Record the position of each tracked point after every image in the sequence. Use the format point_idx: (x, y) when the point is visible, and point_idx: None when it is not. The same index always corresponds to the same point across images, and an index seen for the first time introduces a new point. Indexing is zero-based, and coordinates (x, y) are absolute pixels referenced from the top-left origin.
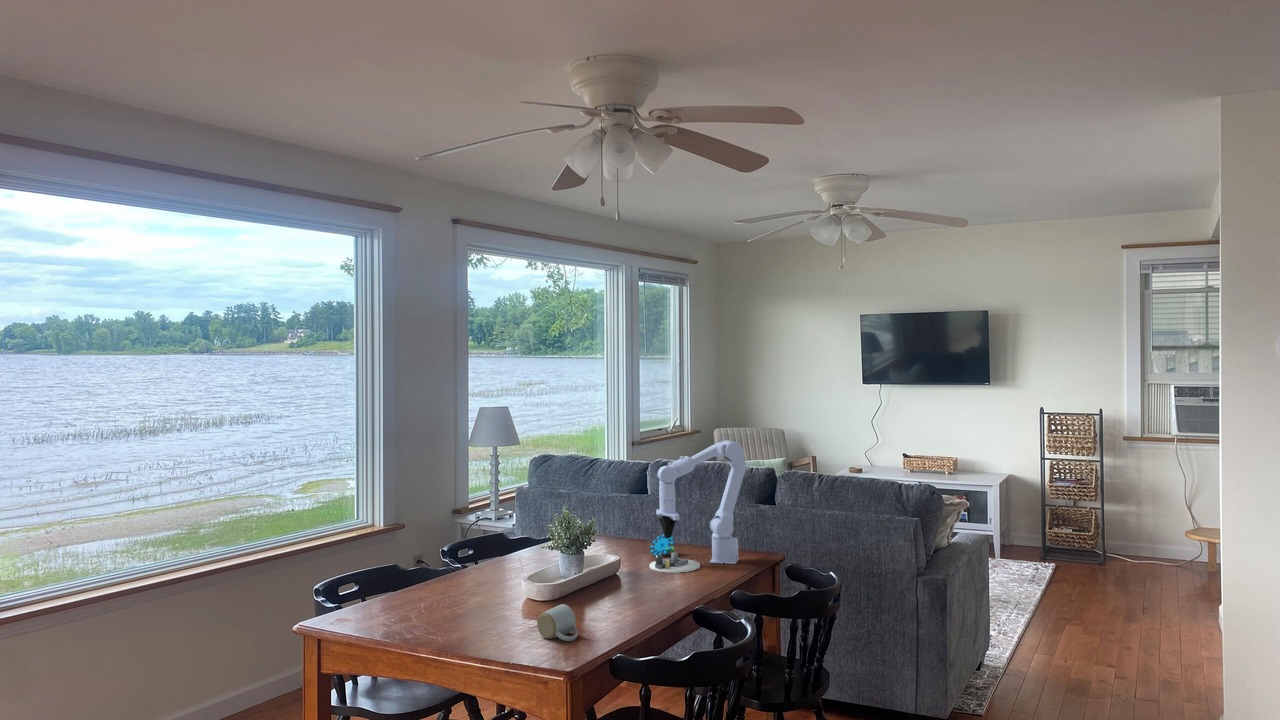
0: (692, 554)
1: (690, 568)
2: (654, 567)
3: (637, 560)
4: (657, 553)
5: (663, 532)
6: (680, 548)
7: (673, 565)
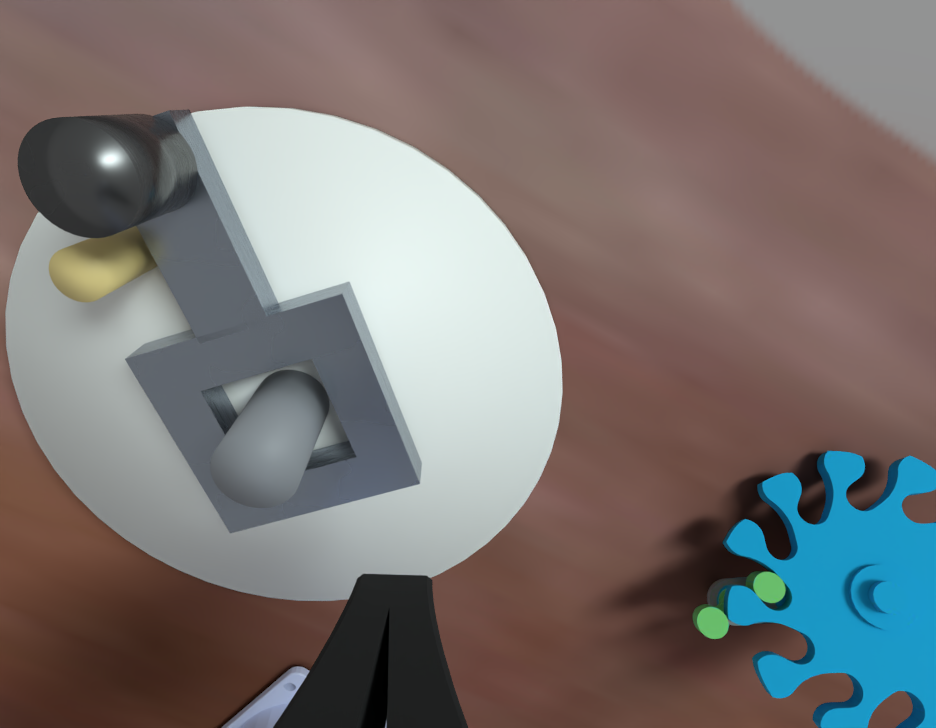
0: (653, 695)
1: (52, 440)
2: (247, 131)
3: (825, 214)
4: (828, 488)
5: (432, 642)
6: (888, 716)
7: (166, 339)
